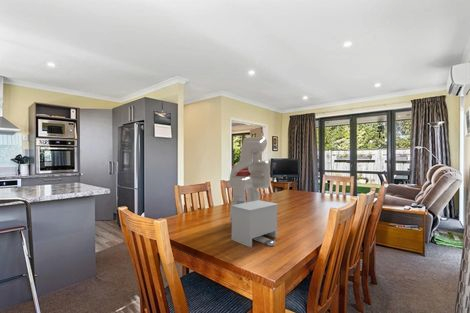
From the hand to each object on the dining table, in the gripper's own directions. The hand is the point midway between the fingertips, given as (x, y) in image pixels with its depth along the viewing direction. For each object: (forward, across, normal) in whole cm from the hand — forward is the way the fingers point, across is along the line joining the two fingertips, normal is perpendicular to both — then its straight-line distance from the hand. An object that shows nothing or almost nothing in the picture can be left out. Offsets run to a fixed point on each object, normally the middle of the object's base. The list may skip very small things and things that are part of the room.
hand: (238, 228), depth 139 cm
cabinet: (+2, 0, +13) cm, 13 cm away
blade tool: (+2, 0, +10) cm, 10 cm away
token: (+2, 0, +24) cm, 25 cm away
